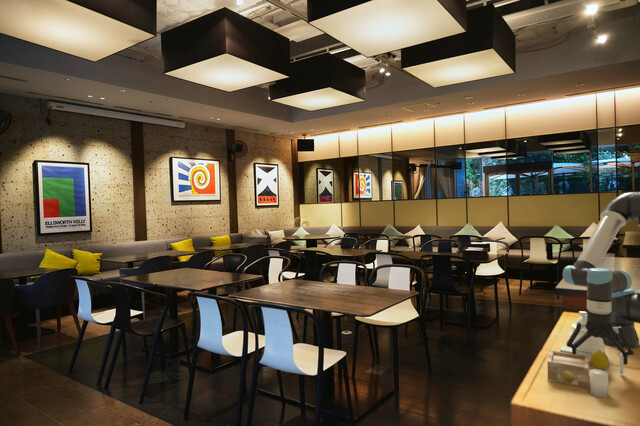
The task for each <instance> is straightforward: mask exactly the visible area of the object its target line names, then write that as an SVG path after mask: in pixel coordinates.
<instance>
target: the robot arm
mask: <svg viewBox="0 0 640 426" xmlns="http://www.w3.org/2000/svg"><path fill="white" fill-rule="evenodd" d="M599 218H600V220H599V222H598V223H597V225H596V227H595V228H594V231H593V232H592V233H591V236H590V237H589V239H588V241H587V242H586V244H585V247H583V250H582V251H581V253H580V255H579V256H578V258H577V260H576V261H575V263H574V265H567V266H565V267H564V268H563V271H562V279H563V281H564V282H565V283H567V284H569V285H573V286H576V287H577V286H578V287H585V288H586V309H587V311H586V312H587V313H586V314H587V323H586V324H583V323H580V322H577V326H576V329H575V330H574V332H573V333H572V335H571V337H570V338H569V337H568V339H569V340H568V339H567V341H566V347H567V346H568V347H571V348H572V354H576V355H578V347H579V346H580V345H581V344H582V343H583V342H584V341H586V340H587V339H588V338H590V337H591V336H593V337H600V338H602V340H603V343H604V344H605V346H606V345H607V346H611V347H615V348H616V349H618V351H619V352H620V354H619V373H620V375H624V365H626V366H627V365H628V356H633V355H634V354H635V353H634V351H633V349H634V348H633V347H635V348H638V347H640V339H639V335H638V332H637V330H636V328H635V323H637V324H640V289H638V290H637V291H635V289H632V288H631V287H632V285H633V279H632V276H631V275H630V274H629V273H628V272H626V271H624V270H613V271H612V270H611V269H608V268H601V267H600V265H601V263H602V262H603V259H604V257H605V256H606V254H607V253H608V251H609V249H610V247H611V245H612V243H613V242H614V240H615V238H616V235H618V232H619V230H620V229H621V228H622V227H623V228H624V226H626V224H627V223H628V222H629V221H637V226H638V227H640V191H637V192H636V191H629V192H625V193H622V194H620V195H619V196H616V197H615V198H614V199H612V200H611V201H610V202H609V203H608V204H607V205H606V206H605V207H604V208H603V210H602V211H601V212H600V215H599ZM584 327H586V329H587V330H588V331H587V332H586V333H585V334H584V335H583V336H582V337H581V338H580V339H578V340H577V341H576V342H575V343H574V344H572V343H573V341H574V340H575V338H576V337H577V335H578V333H579V332H580V329H583V328H584ZM637 346H638V347H637ZM632 348H633V349H632ZM625 349H626V350H625Z"/></svg>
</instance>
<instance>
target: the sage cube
mask: <svg viewBox="0 0 640 426" xmlns="http://www.w3.org/2000/svg"><path fill="white" fill-rule="evenodd" d="M559 352H564V353H570V354H572V348H571V347H567V346H564V345H562V346H561V348H560V351H559Z"/></svg>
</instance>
